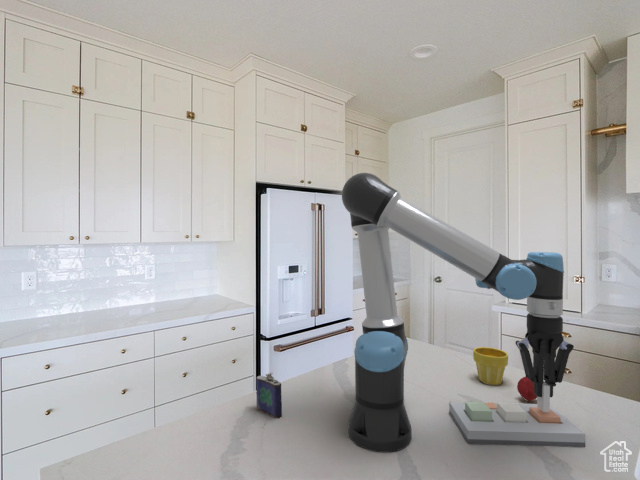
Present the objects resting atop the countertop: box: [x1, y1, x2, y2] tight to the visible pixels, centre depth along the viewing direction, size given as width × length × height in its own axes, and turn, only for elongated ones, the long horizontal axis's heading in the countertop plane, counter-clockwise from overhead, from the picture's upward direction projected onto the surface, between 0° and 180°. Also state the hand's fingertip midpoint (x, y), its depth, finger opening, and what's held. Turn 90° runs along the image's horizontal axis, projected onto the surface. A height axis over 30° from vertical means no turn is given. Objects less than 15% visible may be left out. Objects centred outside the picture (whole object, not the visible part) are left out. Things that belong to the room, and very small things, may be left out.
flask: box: [255, 372, 283, 419], centre depth 96 cm, size 9×3×11 cm, turn 50°
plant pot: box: [472, 346, 509, 386], centre depth 115 cm, size 10×10×10 cm
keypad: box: [448, 401, 586, 448], centre depth 87 cm, size 26×14×3 cm, turn 87°
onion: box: [516, 375, 537, 402], centre depth 101 cm, size 6×6×8 cm
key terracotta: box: [529, 407, 561, 424], centre depth 86 cm, size 5×5×3 cm
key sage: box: [464, 401, 492, 422], centre depth 87 cm, size 5×5×3 cm
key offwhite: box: [496, 402, 526, 423], centre depth 87 cm, size 5×5×3 cm
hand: (543, 409), depth 87 cm, fingers closed
